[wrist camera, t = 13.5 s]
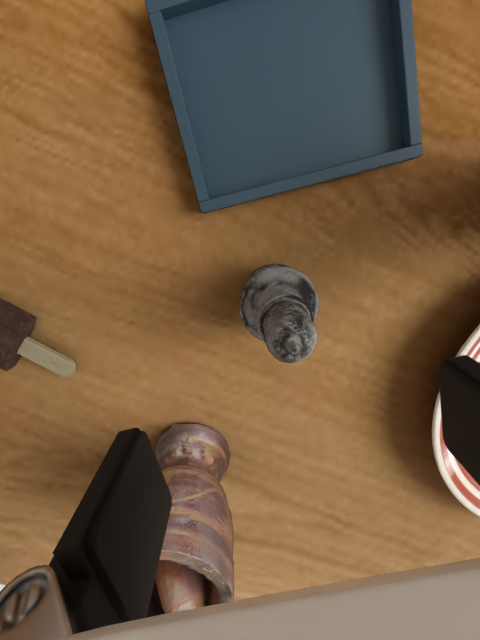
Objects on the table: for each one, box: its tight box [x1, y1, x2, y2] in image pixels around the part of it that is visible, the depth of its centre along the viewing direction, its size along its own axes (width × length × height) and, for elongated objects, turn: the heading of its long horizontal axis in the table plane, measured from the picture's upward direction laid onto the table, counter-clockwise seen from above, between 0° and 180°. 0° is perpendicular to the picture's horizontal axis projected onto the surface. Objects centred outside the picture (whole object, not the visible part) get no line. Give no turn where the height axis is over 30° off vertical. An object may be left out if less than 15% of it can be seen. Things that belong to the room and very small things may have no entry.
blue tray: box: [145, 0, 423, 213], centre depth 22 cm, size 13×16×2 cm
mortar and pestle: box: [146, 424, 234, 618], centre depth 23 cm, size 12×9×20 cm
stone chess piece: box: [239, 264, 319, 363], centre depth 22 cm, size 6×6×12 cm
